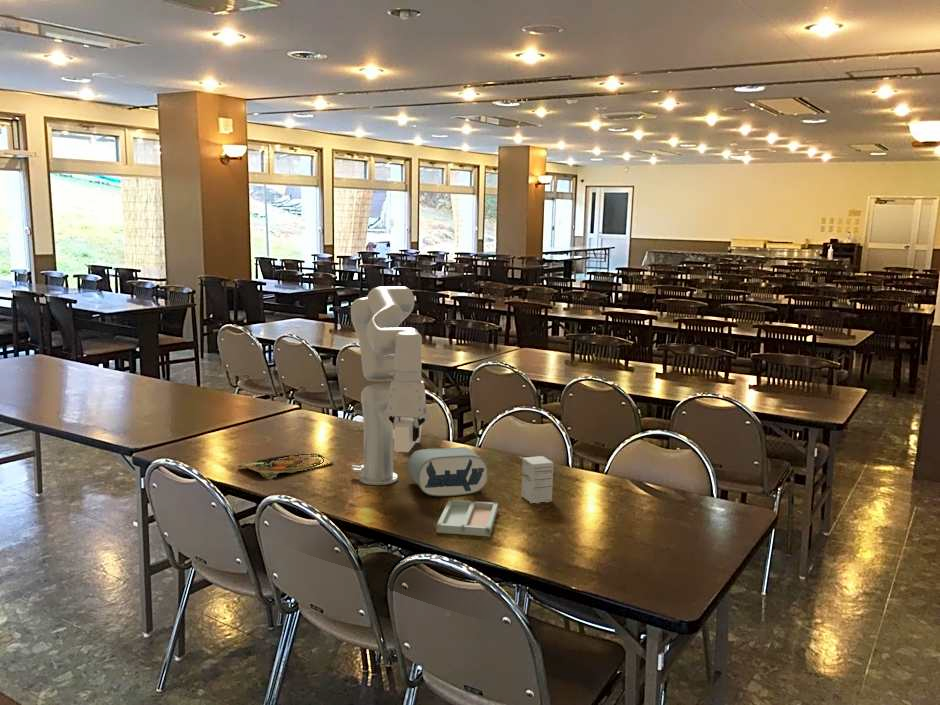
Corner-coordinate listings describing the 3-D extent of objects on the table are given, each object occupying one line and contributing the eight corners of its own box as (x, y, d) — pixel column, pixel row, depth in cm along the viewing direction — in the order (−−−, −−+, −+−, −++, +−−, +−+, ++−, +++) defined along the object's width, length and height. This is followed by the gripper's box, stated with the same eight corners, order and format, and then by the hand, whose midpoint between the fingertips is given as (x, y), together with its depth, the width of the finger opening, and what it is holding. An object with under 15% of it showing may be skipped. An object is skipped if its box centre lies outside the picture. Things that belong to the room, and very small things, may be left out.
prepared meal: (306, 444, 287) (336, 454, 274) (306, 454, 287) (336, 464, 275) (236, 462, 267) (265, 474, 255) (236, 472, 267) (266, 484, 255)
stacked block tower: (520, 496, 247) (521, 457, 245) (542, 494, 249) (543, 455, 247) (530, 504, 240) (532, 464, 238) (552, 502, 243) (554, 462, 241)
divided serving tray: (436, 532, 217) (436, 524, 216) (448, 506, 237) (449, 499, 236) (489, 536, 215) (490, 528, 214) (497, 510, 235) (498, 502, 234)
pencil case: (418, 499, 241) (418, 458, 240) (406, 482, 260) (406, 444, 258) (488, 494, 247) (488, 454, 246) (471, 478, 265) (472, 440, 264)
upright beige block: (394, 451, 218) (394, 426, 217) (405, 437, 232) (405, 414, 231) (408, 452, 218) (408, 427, 217) (418, 438, 231) (419, 415, 230)
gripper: (375, 377, 219) (374, 441, 222) (434, 380, 217) (433, 445, 220) (381, 372, 226) (381, 434, 229) (439, 375, 224) (438, 438, 227)
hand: (406, 439), depth 225 cm, fingers closed on upright beige block, 4 cm apart
